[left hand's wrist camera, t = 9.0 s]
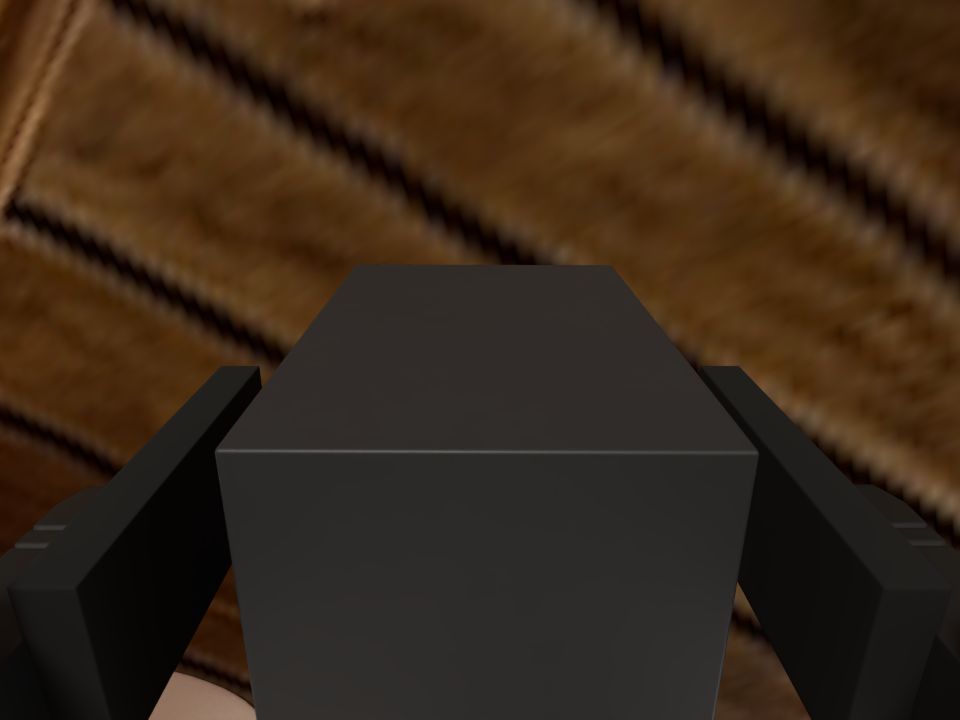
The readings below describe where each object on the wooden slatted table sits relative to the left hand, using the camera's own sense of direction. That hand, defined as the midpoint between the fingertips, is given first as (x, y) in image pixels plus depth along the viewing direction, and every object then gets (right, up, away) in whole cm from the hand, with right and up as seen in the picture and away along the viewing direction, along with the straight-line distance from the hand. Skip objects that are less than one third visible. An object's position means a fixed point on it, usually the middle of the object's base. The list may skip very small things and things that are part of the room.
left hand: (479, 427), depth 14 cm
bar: (0, -7, +4) cm, 9 cm away
